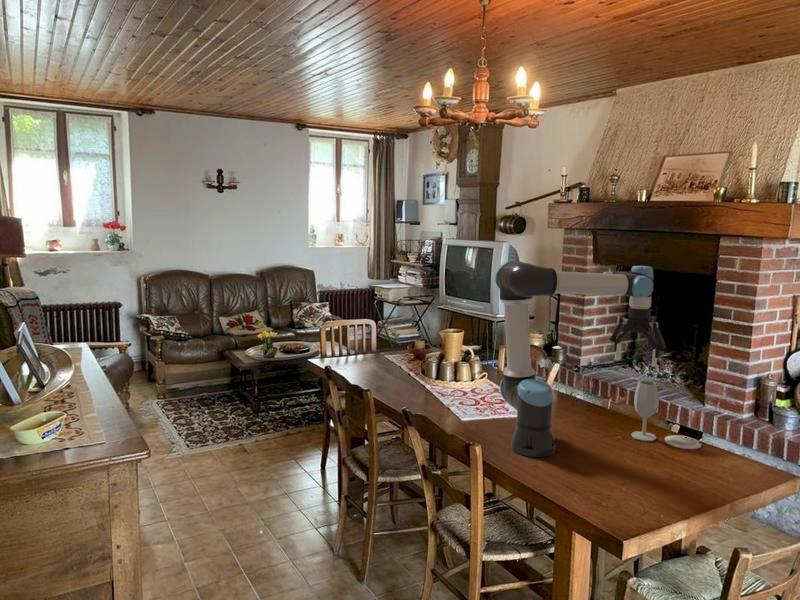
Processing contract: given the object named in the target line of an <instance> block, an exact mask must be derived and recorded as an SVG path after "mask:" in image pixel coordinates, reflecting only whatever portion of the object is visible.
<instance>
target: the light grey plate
mask: <svg viewBox="0 0 800 600" xmlns="http://www.w3.org/2000/svg"><path fill="white" fill-rule="evenodd" d="M685 437H687V438H685ZM692 439H693V440H692ZM664 442H665V443H666V444H667V445H668V446H669V445H670V446H671V447H674V448H679V449H683V450H697V449H701V447H702V442H701V441H700V440H698V439H696V438H693V437H690V436H687V435H686V436H685V435H679V434H678V435H677V434H675V435H674V434H673V435H667V436H665V437H664ZM699 442H701V443H699Z"/></svg>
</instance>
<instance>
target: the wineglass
mask: <svg viewBox="0 0 800 600" xmlns="http://www.w3.org/2000/svg"><path fill="white" fill-rule="evenodd" d="M633 396H634V400H633V405H634V411H636V413H637V414H638V415H639V416H640V417H641V418H642V427H641V428H642V429H641V431H637V430H635V431H633V432H632V433H630V435H631V437H632V439H635V440H636V441H637V440H638V441H641V442H651V443H652V442H654V441H656V440H657V436H656V435H655V434H654V433H650V432H647V421H648V419H649V418H650V417H651V416H653V415H654V414H656V413H657V410H658V407H659V391H658V385H657V383H656V382H655V381H652V380H647V379H646V380H645V379H644V380H643V379H641V380H639V381H638V382H637V385H636V388H635V392H634V395H633Z"/></svg>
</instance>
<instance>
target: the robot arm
mask: <svg viewBox="0 0 800 600" xmlns="http://www.w3.org/2000/svg"><path fill="white" fill-rule="evenodd" d="M494 281H495V284H496V286H497V288H498V289H499V300H500V301H501V302H502V303H503V304H504V305H503V306H504V324H505V325H504V327H505V349H506V368H505V369H504V370H503V371H502V372H503V373H502V375H503V377H502V379H501V380H500V383H499V392H500V394H501V397H502V398H503V400H504V401H505V402H506V403H507V404H508V405H510V406H511V407H512V408H513V409H515V410H516V427H515V429H514V432H513V435H512V438H511V441H510V449H511V450H512V451H513V452H515V453H516V454H518V455H522V456H526V457H530V458H546V457H550V456H552V455H554V454H556V443H555V439H554V436H553V432H552V414H553V401H554V394H553V388H552V386H551V385H550V384H549V383H547V382H546V381H544V380H543V381H541V380H539V379H537V378H536V376H537V375H536V370H535V369H533V367H532V364H531V363H532V362H531V361H532V360H531V336H530V334H531V333H530V332H531V331H530V330H531V329H530V306H529V305H530V302H531V301H532V300H533V298H534V297H554V296H555V294H556V295H557V294H561V295H562V294H564V295H590V296H592V295H593V296H594V295H595V296H621V297H622V296H623V297H629V304H628V306H629V308H628V317H627V318H625V317H622V318H619V322H618V324H617V326H616V328H615V329H614V332H613V333H612V334H611V336H610V338H609V340H610V341H611V342H613V343H614V349H613V350H614V352H615V361H618V362H619V361H621V360H622V358H621V357H622V346H623V345H622V344H623V343H622V342H621V341H622V340H623V339H624V338H626V336H628V335H629V334H630V333H631V332H634V333H640V334H642V333H643V334H644V335H645V336H646V337H647V340H649V342H650V343H651V345H652V347H654V348H653V349H652V356H651V357H652V358H651V359H652V360H651V367H653V368H655V367H657V365H658V364H657V363H658V359H660V357H661V350H663V349H665V348H667V345H666V343H665V340H664V338H663V335H662V332H661V330H660V328H659V327H660V325H659V324H660V323H659V322H658V321H656V322H651V310H652V309H651V307H652V293H653V291H654V283H653V282H654V269H653V267H652V266H649V265H648V266H647V265H633V266H632V267H631V270H630V271H612V270H609V271H603V272H602V273H600V272H599V273H598V272H582V271H581V272H579V271H578V272H577V271H559V270H556V269H555V268H553V267H544V266H539V265H537V264H536V265H535V264H532V263H528V262H522V261H520V260H507V261H505V262H503V263H502V264H500V265H499V267H498V268H497V270H496V272H495V276H494ZM626 324H627V325H628V326H627V328H626V329H625V330H624V331H623V332H622V333H621V331H622V330H623V327H624V326H625V325H626ZM650 326H651V328H652V329H653V332H654V335H655V336H654V335H653V333H652V332H651V330H650ZM620 333H621V334H620Z"/></svg>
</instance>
